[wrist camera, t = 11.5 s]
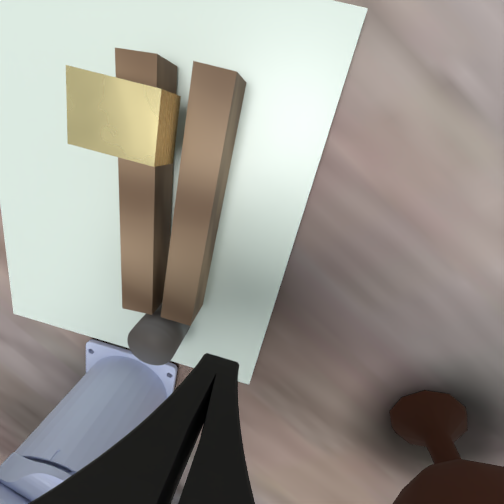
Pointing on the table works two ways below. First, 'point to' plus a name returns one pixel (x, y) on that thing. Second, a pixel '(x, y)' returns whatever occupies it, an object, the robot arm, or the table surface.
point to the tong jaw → (144, 197)
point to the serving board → (241, 168)
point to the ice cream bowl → (443, 453)
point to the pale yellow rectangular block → (121, 117)
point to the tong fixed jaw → (194, 210)
